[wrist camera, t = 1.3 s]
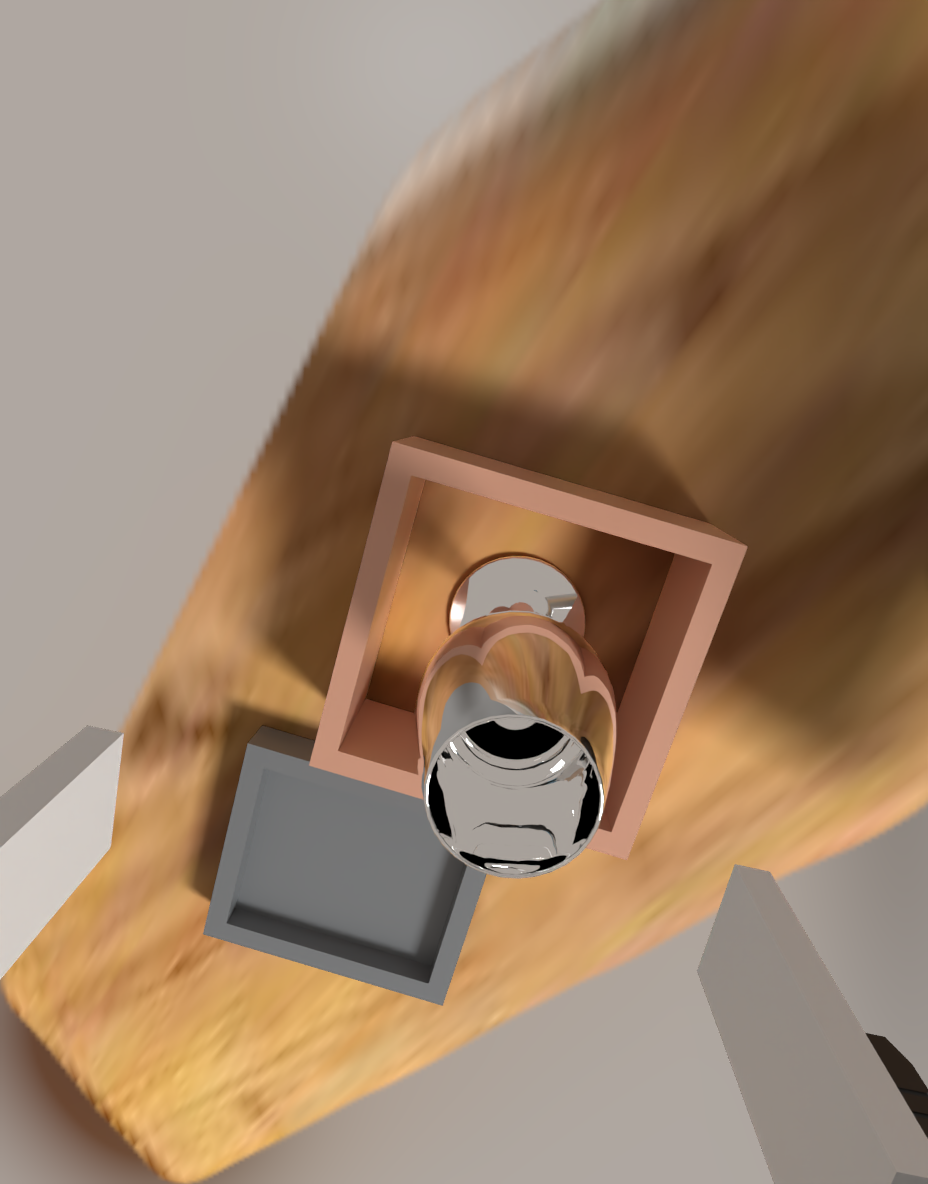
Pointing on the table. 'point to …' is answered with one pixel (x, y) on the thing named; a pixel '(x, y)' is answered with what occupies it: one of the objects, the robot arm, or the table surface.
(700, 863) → the table surface
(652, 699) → the holder
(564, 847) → the wineglass
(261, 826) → the tray
